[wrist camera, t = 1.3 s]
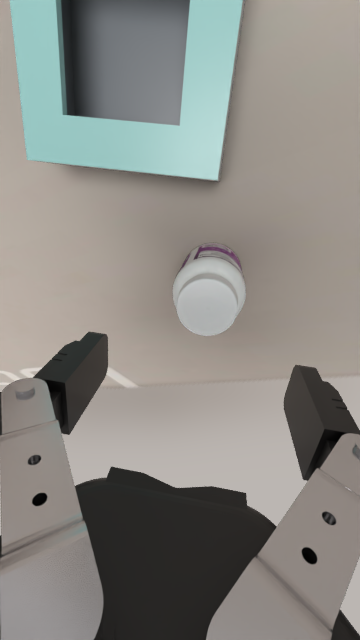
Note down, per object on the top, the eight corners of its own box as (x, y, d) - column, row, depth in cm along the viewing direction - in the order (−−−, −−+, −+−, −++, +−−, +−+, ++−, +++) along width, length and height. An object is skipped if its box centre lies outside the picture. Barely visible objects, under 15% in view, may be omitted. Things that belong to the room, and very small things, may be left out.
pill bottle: (208, 308, 29) (200, 360, 20) (172, 267, 28) (147, 303, 19) (253, 274, 27) (266, 315, 18) (216, 228, 26) (212, 249, 17)
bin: (251, -43, 19) (261, -137, 13) (219, 181, 24) (217, 180, 19) (57, -51, 20) (-6, -141, 14) (69, 165, 25) (27, 159, 20)
